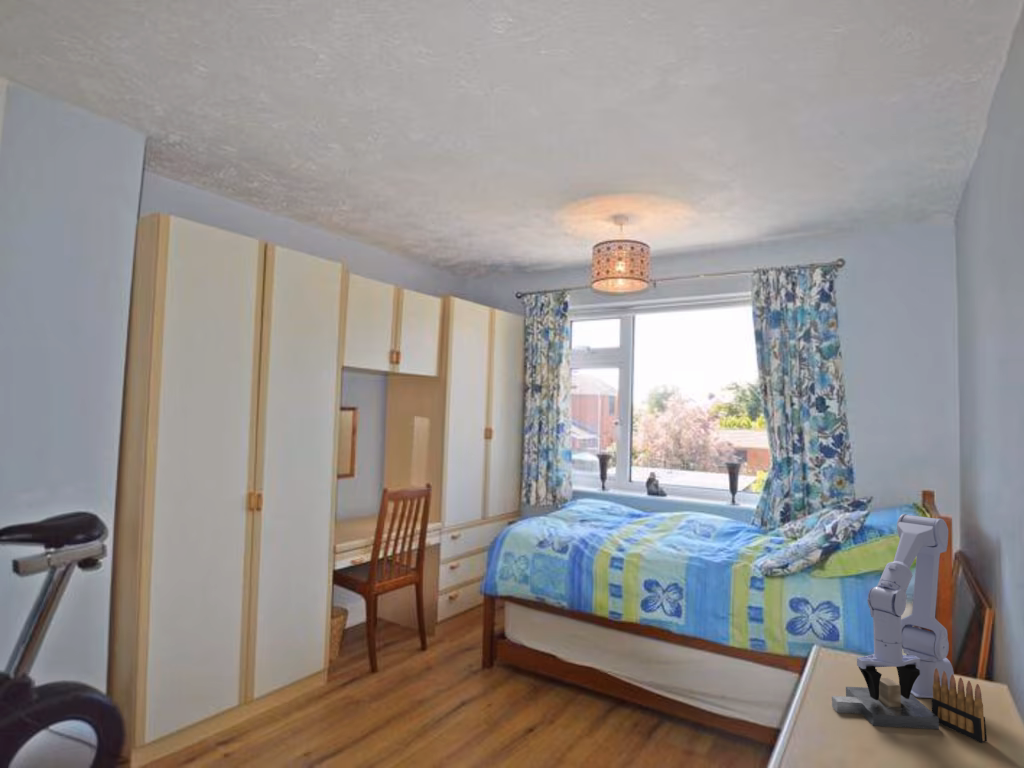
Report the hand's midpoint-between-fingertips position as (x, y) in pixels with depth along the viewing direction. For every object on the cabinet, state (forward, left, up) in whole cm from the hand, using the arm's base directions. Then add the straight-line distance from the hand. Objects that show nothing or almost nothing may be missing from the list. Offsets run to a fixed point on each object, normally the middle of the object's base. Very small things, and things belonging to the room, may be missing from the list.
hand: (889, 697), depth 143 cm
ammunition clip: (-11, +7, -4) cm, 14 cm away
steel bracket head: (+3, 0, -3) cm, 4 cm away
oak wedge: (0, 0, -3) cm, 3 cm away
